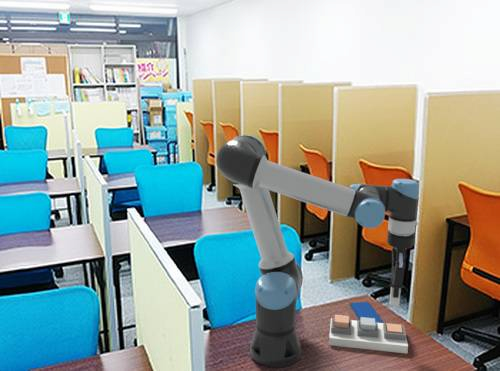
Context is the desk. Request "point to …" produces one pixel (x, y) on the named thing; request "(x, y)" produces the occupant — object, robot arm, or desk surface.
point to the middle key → (367, 324)
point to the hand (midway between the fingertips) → (394, 305)
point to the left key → (341, 321)
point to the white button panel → (368, 337)
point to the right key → (394, 328)
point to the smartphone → (365, 311)
